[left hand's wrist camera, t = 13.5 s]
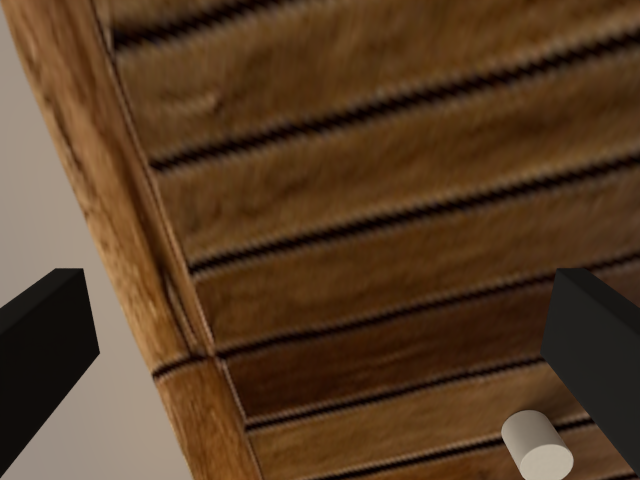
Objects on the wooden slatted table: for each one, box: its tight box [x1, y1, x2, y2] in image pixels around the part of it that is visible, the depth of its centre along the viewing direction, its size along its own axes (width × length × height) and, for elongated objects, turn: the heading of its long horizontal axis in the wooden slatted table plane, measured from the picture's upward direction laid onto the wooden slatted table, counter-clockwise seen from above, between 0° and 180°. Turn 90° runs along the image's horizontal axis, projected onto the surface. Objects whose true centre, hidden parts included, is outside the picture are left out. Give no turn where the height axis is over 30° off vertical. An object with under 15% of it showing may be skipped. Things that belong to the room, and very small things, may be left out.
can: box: [502, 410, 573, 480], centre depth 41 cm, size 5×5×4 cm
